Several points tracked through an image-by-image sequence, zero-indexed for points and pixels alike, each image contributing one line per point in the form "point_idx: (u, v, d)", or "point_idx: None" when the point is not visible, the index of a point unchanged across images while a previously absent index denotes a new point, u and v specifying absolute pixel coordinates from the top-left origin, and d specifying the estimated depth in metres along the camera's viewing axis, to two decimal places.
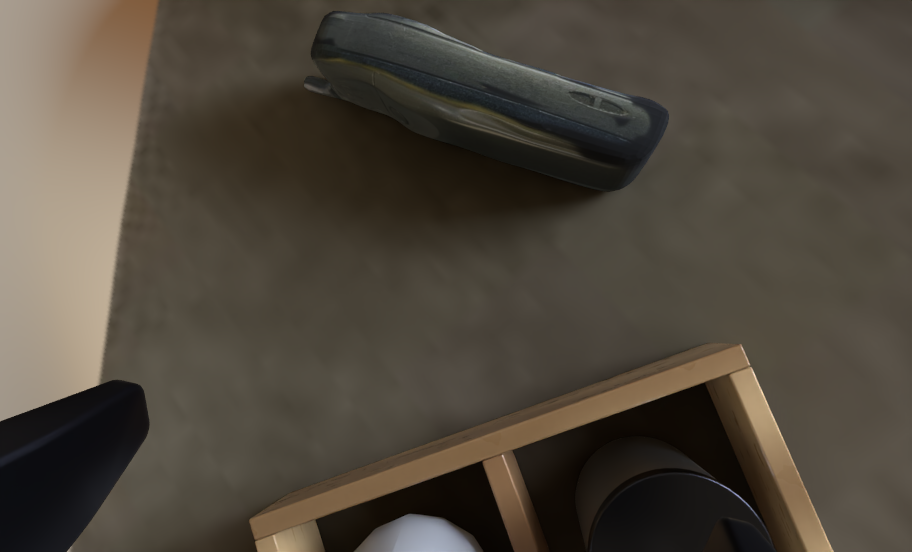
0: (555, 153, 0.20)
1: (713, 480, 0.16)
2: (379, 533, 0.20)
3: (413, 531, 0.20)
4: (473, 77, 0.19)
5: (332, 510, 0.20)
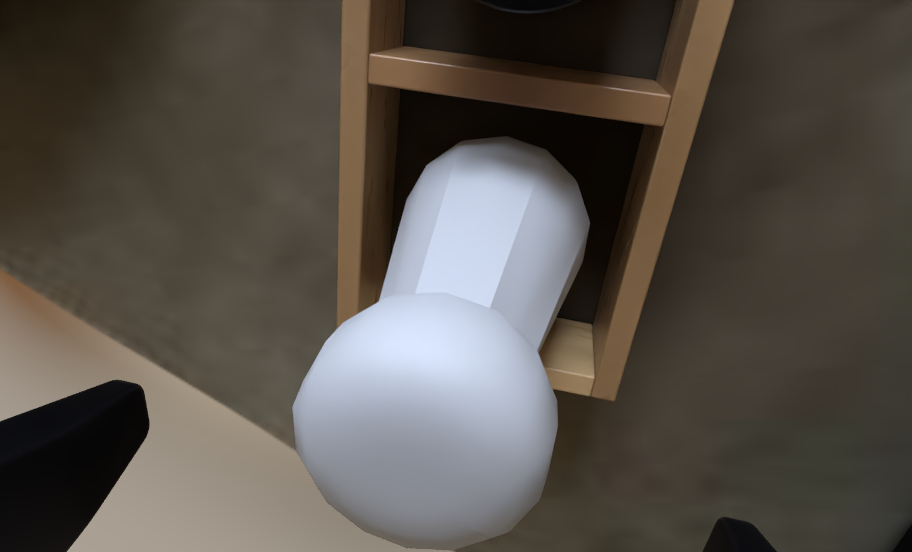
0: None
1: None
2: None
3: (411, 199, 0.17)
4: None
5: (357, 267, 0.18)
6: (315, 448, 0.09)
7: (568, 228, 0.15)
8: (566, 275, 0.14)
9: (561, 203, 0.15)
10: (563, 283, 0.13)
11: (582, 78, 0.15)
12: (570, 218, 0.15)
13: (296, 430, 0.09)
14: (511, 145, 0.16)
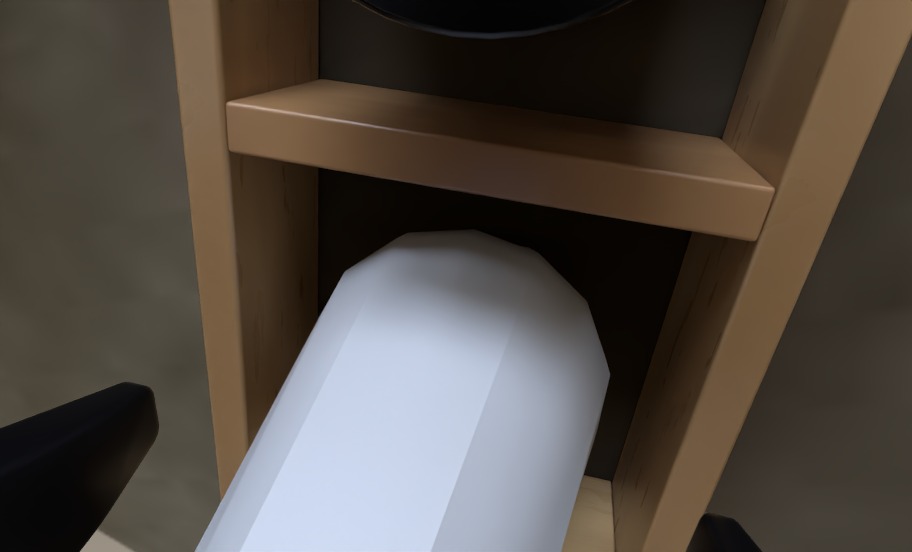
0: None
1: None
2: None
3: (313, 331, 0.10)
4: None
5: (241, 428, 0.11)
6: None
7: (568, 422, 0.08)
8: (560, 542, 0.07)
9: (557, 371, 0.08)
10: None
11: (604, 145, 0.09)
12: (573, 396, 0.08)
13: None
14: (476, 251, 0.09)
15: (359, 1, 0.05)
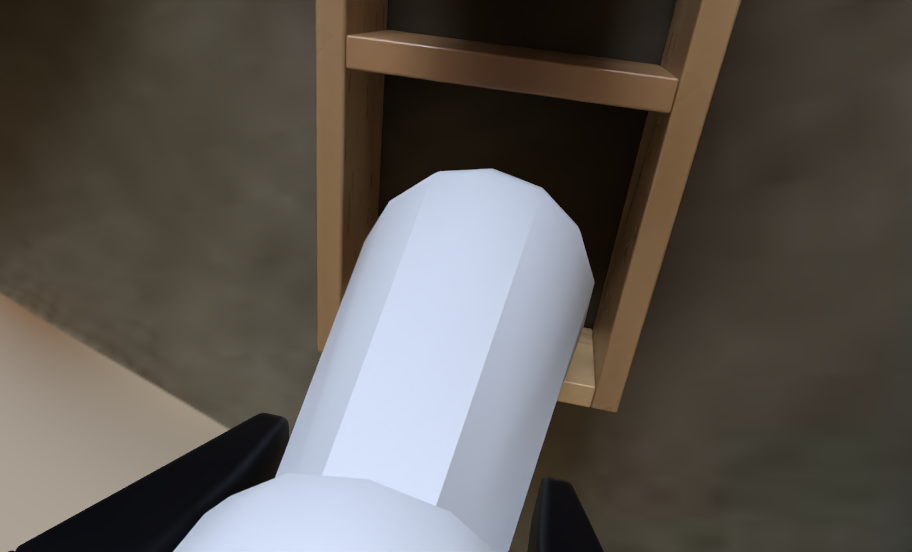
0: None
1: None
2: None
3: (367, 245, 0.13)
4: None
5: (338, 269, 0.17)
6: None
7: (567, 302, 0.11)
8: (563, 374, 0.10)
9: (559, 267, 0.11)
10: (558, 389, 0.10)
11: (580, 61, 0.14)
12: (570, 287, 0.11)
13: None
14: (496, 183, 0.12)
15: None
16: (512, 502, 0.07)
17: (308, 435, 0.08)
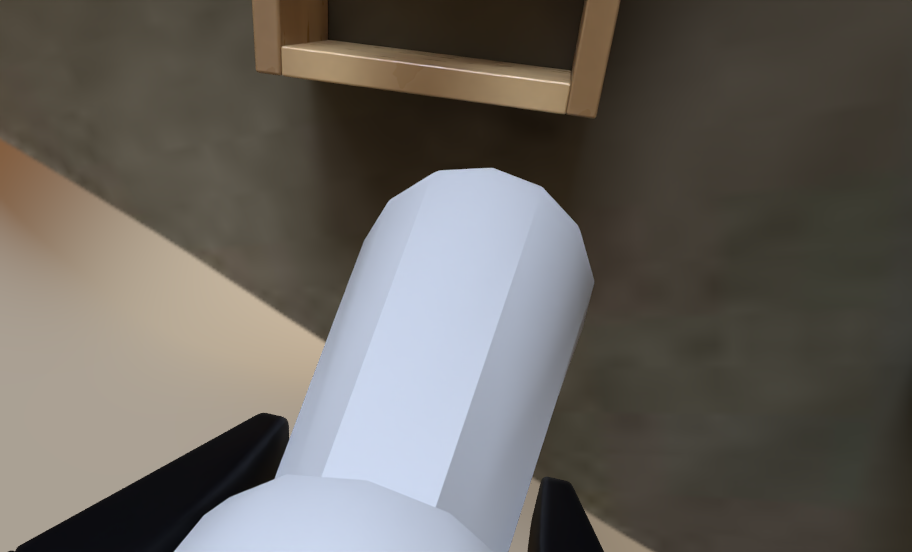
0: None
1: None
2: None
3: (366, 245, 0.13)
4: None
5: None
6: None
7: (566, 302, 0.11)
8: (562, 374, 0.10)
9: (559, 267, 0.11)
10: (558, 388, 0.10)
11: None
12: (570, 286, 0.11)
13: None
14: (496, 182, 0.12)
15: None
16: (512, 503, 0.07)
17: (308, 436, 0.08)
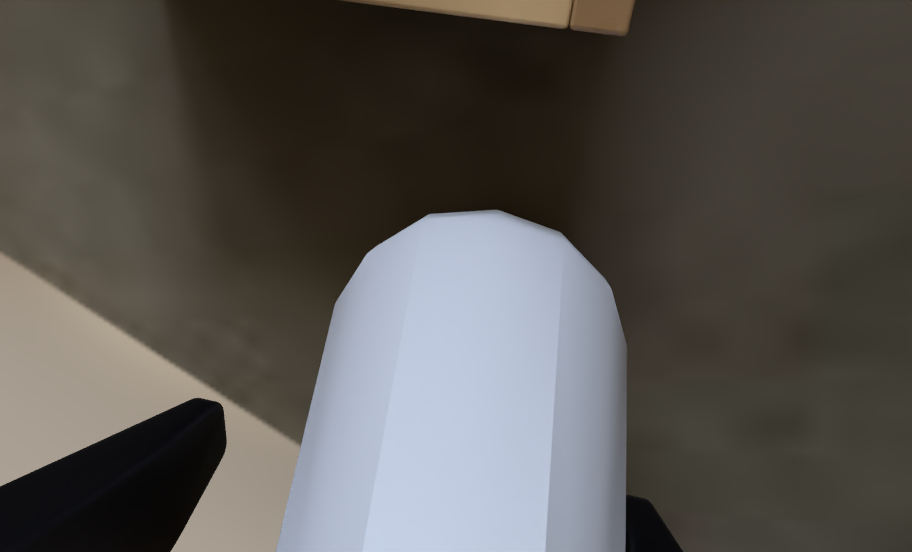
0: None
1: None
2: None
3: (340, 315, 0.10)
4: None
5: None
6: None
7: (613, 391, 0.08)
8: (624, 503, 0.07)
9: (599, 344, 0.09)
10: (624, 530, 0.07)
11: None
12: (612, 368, 0.09)
13: None
14: (508, 231, 0.10)
15: None
16: None
17: None
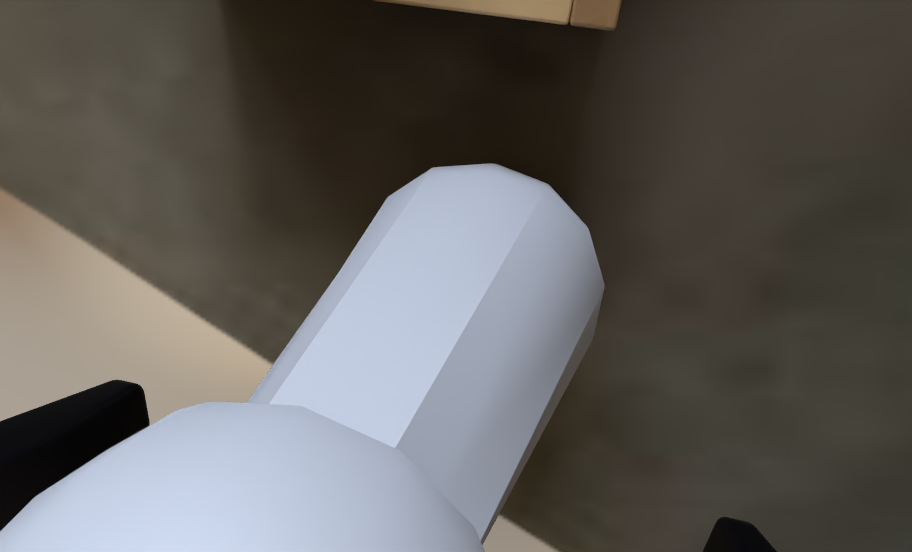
0: None
1: None
2: None
3: None
4: None
5: None
6: None
7: (571, 292, 0.10)
8: (564, 363, 0.09)
9: (563, 255, 0.10)
10: (558, 377, 0.09)
11: None
12: (575, 278, 0.10)
13: None
14: (498, 173, 0.12)
15: None
16: (492, 481, 0.06)
17: (259, 395, 0.07)
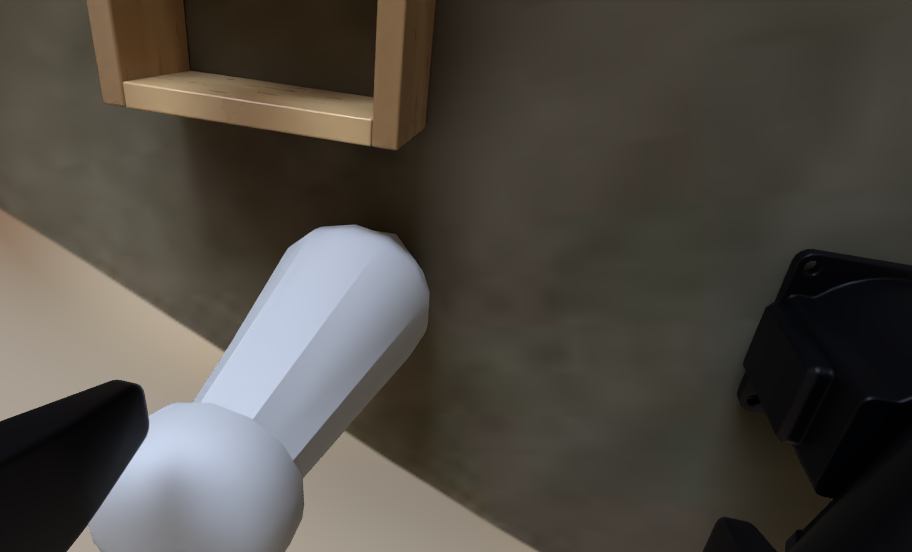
0: None
1: None
2: None
3: None
4: None
5: None
6: (94, 530, 0.11)
7: (389, 314, 0.17)
8: (375, 359, 0.16)
9: (385, 291, 0.18)
10: (369, 367, 0.16)
11: None
12: (394, 303, 0.18)
13: None
14: (352, 236, 0.19)
15: None
16: (311, 425, 0.14)
17: None
